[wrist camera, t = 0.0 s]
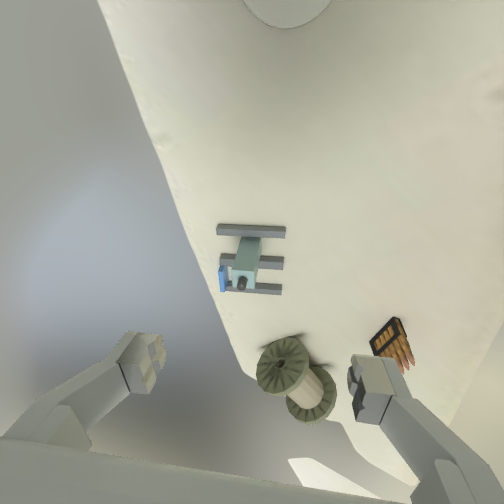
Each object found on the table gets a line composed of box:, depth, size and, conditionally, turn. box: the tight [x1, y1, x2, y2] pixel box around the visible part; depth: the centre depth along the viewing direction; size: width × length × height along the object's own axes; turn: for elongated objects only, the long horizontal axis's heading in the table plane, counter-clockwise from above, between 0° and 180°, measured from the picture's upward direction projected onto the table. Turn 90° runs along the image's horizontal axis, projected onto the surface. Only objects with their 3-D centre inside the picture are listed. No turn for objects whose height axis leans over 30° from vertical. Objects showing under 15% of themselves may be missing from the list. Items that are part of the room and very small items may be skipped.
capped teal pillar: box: [231, 236, 261, 291], centre depth 48 cm, size 4×4×14 cm
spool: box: [256, 337, 337, 425], centre depth 67 cm, size 16×15×15 cm
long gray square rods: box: [216, 224, 286, 295], centre depth 54 cm, size 17×14×4 cm
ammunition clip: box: [369, 317, 415, 374], centre depth 58 cm, size 11×2×12 cm, turn 164°
